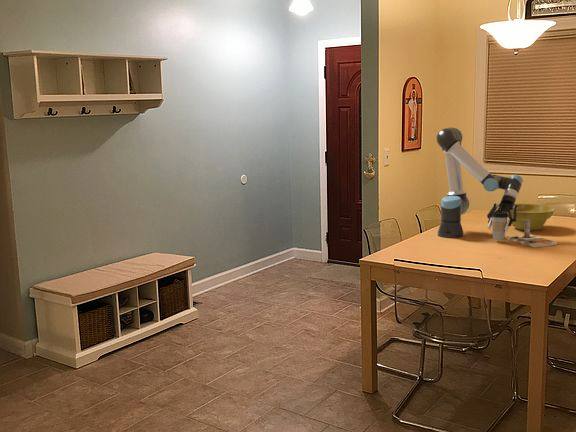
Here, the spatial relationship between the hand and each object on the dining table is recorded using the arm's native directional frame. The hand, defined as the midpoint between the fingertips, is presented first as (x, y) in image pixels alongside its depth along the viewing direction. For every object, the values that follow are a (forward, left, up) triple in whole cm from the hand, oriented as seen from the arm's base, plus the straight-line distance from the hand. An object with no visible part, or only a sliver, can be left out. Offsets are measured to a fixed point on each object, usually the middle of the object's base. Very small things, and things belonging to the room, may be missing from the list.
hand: (497, 229), depth 357 cm
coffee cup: (-2, +3, -6) cm, 7 cm away
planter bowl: (-25, +43, -8) cm, 50 cm away
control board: (+7, +19, -8) cm, 21 cm away
